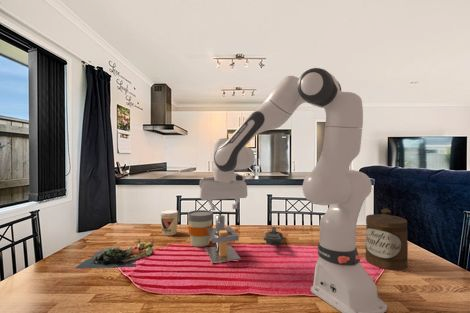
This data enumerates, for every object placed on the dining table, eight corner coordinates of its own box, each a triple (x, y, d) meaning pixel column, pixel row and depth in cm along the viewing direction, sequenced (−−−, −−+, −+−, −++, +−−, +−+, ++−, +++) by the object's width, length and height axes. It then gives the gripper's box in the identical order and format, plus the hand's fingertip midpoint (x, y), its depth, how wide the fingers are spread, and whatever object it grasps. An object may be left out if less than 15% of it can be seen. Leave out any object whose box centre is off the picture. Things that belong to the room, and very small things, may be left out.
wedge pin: (227, 255, 109) (227, 232, 109) (220, 256, 108) (220, 232, 108) (225, 253, 112) (225, 230, 112) (218, 253, 111) (218, 230, 111)
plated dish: (171, 245, 126) (170, 230, 126) (159, 272, 98) (158, 253, 98) (96, 247, 123) (96, 232, 123) (62, 276, 95) (62, 257, 95)
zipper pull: (262, 238, 115) (265, 223, 140) (262, 252, 115) (265, 235, 140) (282, 239, 114) (282, 224, 138) (282, 254, 114) (282, 236, 138)
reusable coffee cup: (182, 246, 122) (182, 215, 122) (193, 238, 134) (193, 209, 134) (208, 249, 119) (208, 216, 119) (216, 240, 131) (216, 210, 131)
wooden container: (359, 261, 107) (359, 208, 106) (374, 252, 116) (374, 203, 116) (399, 274, 95) (400, 215, 95) (412, 263, 105) (413, 209, 105)
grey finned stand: (240, 260, 106) (240, 222, 106) (212, 264, 103) (212, 224, 103) (230, 247, 122) (230, 213, 121) (205, 249, 118) (205, 214, 118)
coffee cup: (157, 235, 139) (157, 212, 139) (166, 230, 148) (166, 209, 148) (172, 236, 136) (172, 214, 136) (181, 231, 145) (181, 210, 145)
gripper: (200, 178, 104) (200, 212, 104) (248, 176, 109) (248, 209, 109) (198, 177, 110) (198, 209, 110) (244, 175, 115) (244, 206, 115)
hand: (224, 209), depth 109 cm, fingers open, 8 cm apart
